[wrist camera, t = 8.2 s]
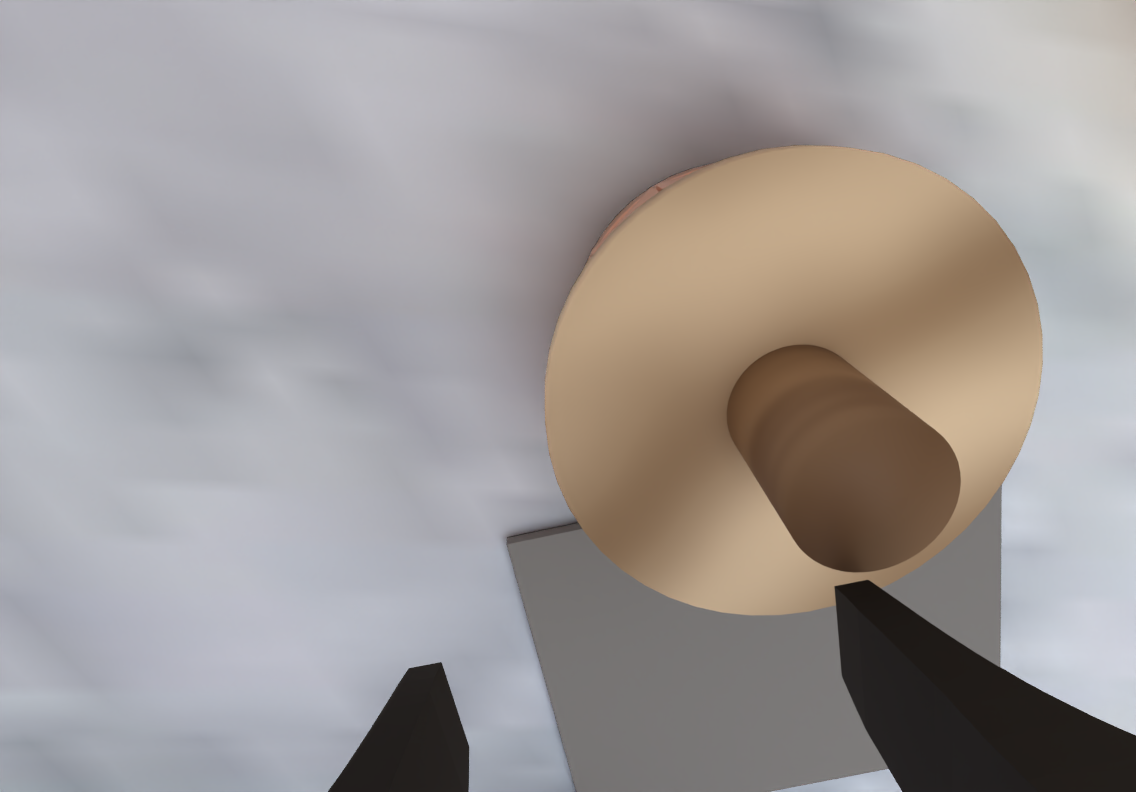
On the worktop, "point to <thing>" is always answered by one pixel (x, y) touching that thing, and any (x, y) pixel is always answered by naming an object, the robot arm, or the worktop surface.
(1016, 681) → the robot arm
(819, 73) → the worktop surface
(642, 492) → the lid
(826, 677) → the mat
